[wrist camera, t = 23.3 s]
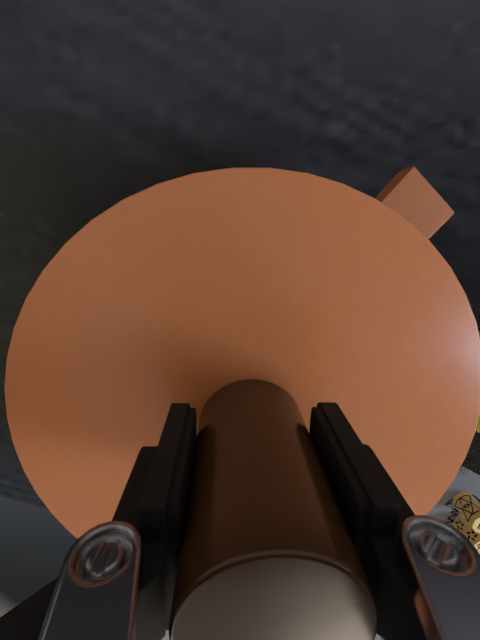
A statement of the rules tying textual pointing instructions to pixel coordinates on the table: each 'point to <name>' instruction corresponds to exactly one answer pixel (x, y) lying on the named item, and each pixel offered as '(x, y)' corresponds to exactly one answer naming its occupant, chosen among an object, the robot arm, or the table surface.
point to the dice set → (462, 505)
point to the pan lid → (246, 383)
